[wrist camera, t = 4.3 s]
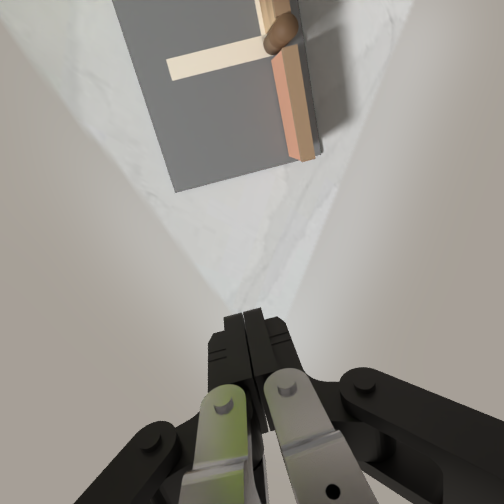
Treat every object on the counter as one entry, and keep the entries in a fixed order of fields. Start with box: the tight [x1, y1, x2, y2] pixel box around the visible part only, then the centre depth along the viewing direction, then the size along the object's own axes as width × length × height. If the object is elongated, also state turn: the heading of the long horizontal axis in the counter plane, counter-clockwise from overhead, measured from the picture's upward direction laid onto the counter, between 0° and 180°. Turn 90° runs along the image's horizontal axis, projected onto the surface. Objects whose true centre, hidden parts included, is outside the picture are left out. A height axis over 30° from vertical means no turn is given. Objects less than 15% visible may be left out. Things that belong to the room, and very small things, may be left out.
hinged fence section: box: [271, 44, 315, 162], centre depth 30 cm, size 9×1×6 cm, turn 13°
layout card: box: [112, 0, 321, 193], centre depth 31 cm, size 21×16×1 cm
